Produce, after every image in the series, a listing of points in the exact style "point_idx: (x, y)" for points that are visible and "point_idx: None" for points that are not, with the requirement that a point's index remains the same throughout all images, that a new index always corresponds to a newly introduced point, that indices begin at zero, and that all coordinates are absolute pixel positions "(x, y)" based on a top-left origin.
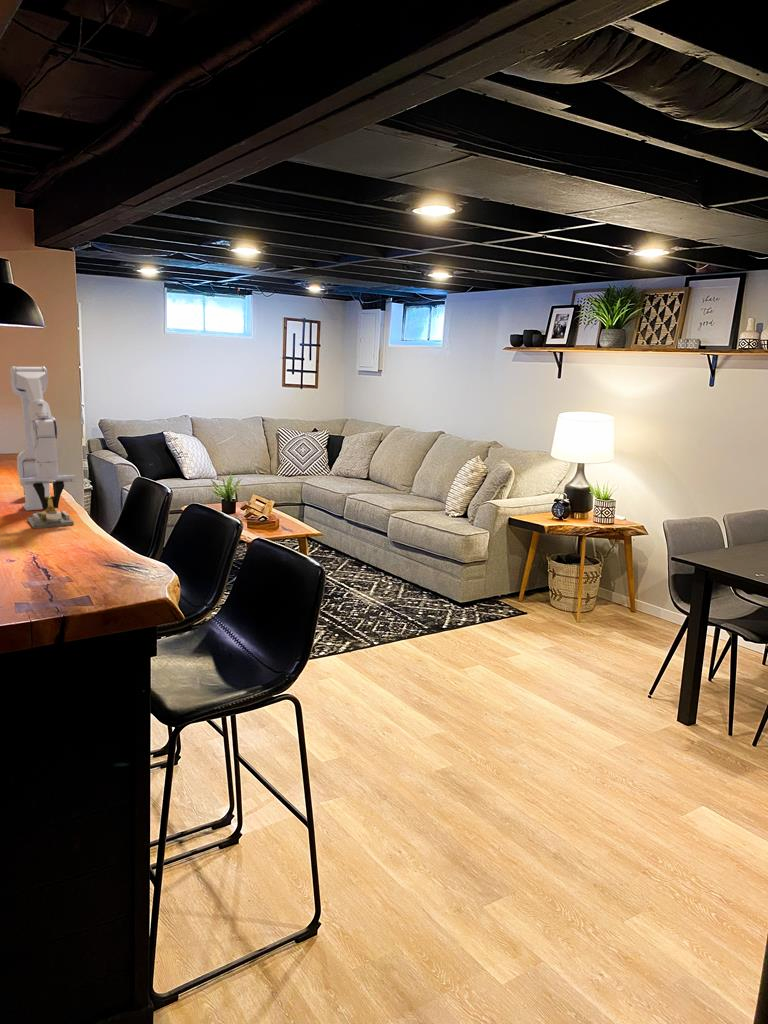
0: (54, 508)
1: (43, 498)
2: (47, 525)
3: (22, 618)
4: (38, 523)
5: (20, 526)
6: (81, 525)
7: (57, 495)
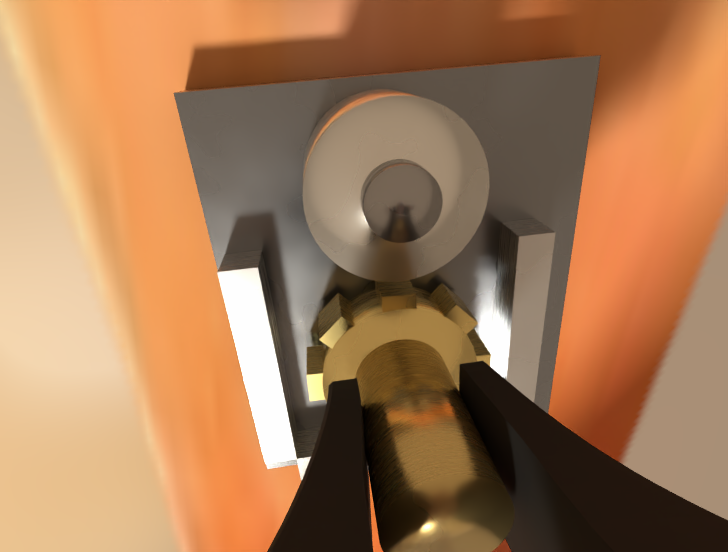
0: (368, 384)
1: (550, 447)
2: (457, 69)
3: None
4: (535, 140)
5: (634, 229)
6: (87, 20)
7: (338, 503)
